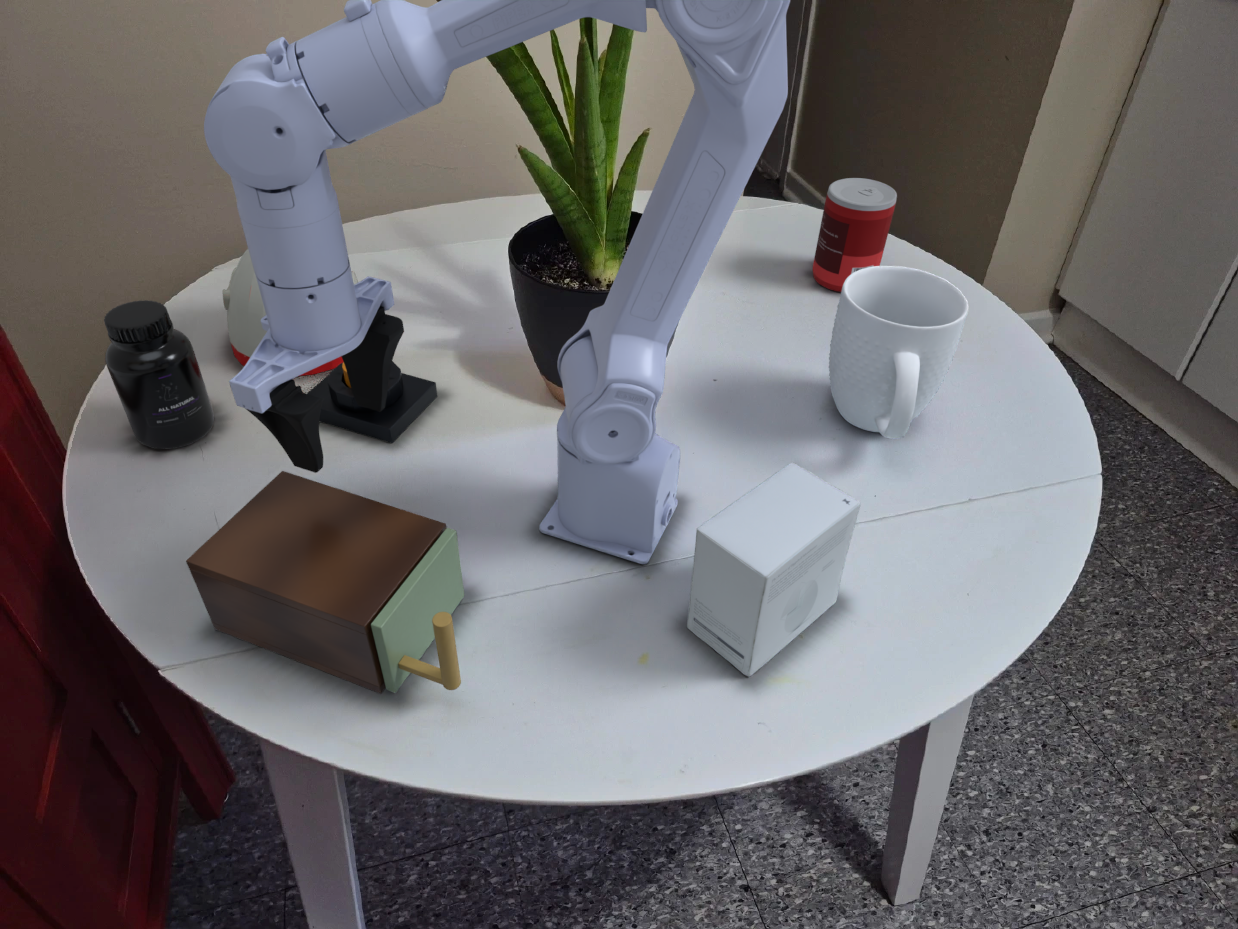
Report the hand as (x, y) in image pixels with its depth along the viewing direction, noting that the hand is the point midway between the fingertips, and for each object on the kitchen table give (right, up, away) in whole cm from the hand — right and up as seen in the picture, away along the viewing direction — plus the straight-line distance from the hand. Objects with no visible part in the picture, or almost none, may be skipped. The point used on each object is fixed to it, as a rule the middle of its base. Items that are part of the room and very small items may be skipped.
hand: (341, 435), depth 63 cm
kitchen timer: (-13, +11, +28) cm, 33 cm away
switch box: (-3, +3, +19) cm, 20 cm away
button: (-3, +6, +17) cm, 19 cm away
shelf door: (+9, -15, -2) cm, 18 cm away
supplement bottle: (-20, +1, +16) cm, 26 cm away
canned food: (+48, +20, +42) cm, 67 cm away
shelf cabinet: (0, -13, +1) cm, 13 cm away
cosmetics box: (+31, -14, +2) cm, 34 cm away
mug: (+45, +2, +21) cm, 50 cm away
